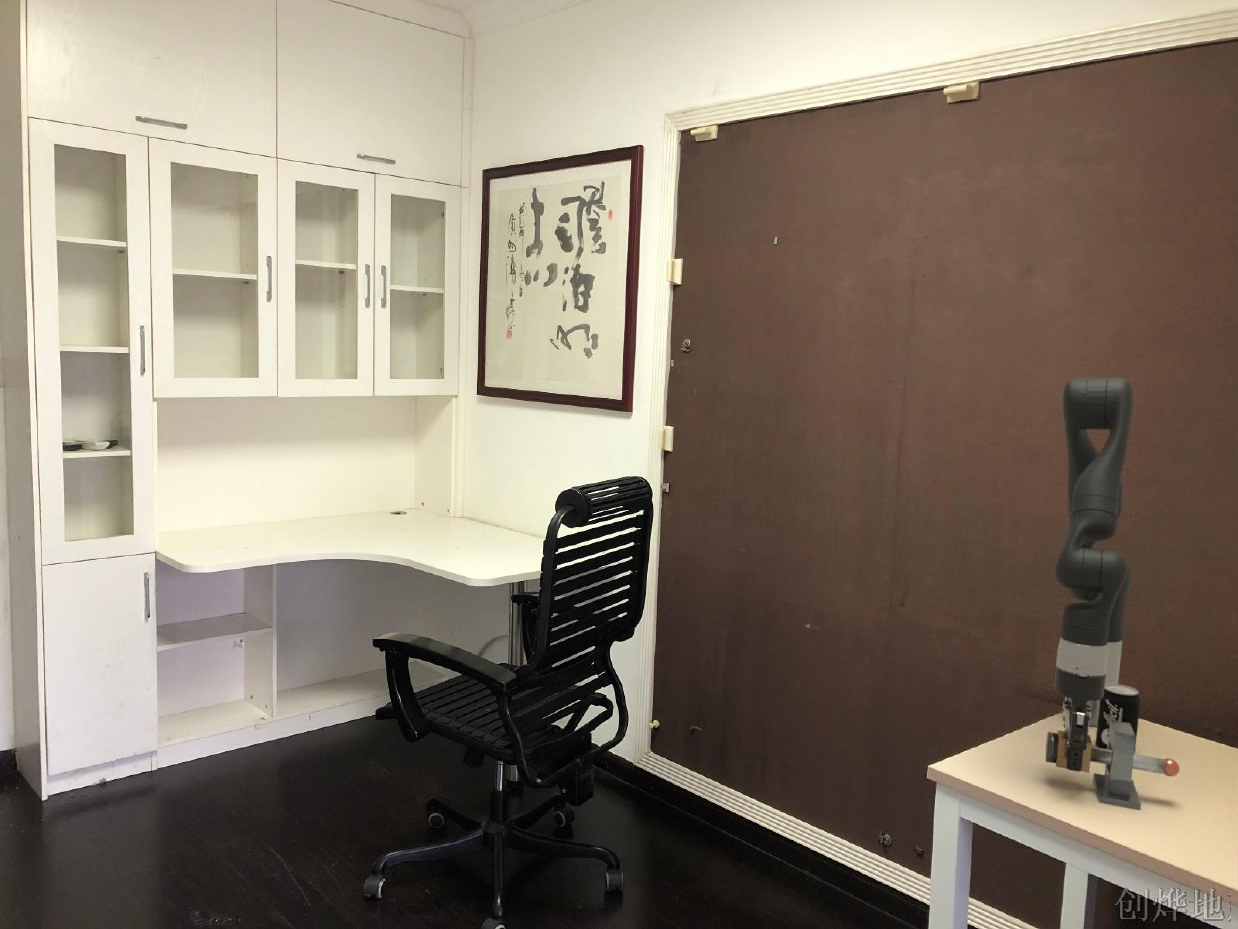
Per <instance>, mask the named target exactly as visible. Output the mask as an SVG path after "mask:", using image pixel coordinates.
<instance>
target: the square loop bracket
mask: <svg viewBox="0 0 1238 929" xmlns="http://www.w3.org/2000/svg"><path fill="white" fill-rule="evenodd" d="M1135 740H1136V741H1137V738H1136V737H1135V734H1134V732H1133V729H1132V727H1131V724H1130V723H1125V722H1119V721H1112V720H1110V727H1109V737H1108V746H1107V749H1108V750H1112V757H1111V765H1108V764H1105V767H1104V774H1100V773H1094V772H1093V777H1092V779H1093V780H1092V781H1093V785H1094V788H1095V792H1096V796H1097V799H1098V803H1102V804H1107V805H1112V806H1118V807H1122V808H1129V809H1135V810H1139V811H1140V810H1141V806H1142V802H1141V800H1140V797H1139V794H1138V791H1137V787H1136V785H1135V782H1134V780H1133V779H1132V777H1133V770H1134V769H1133V759H1134V754H1135V753H1134V750H1135V751H1136V747H1135Z"/></svg>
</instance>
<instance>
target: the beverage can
mask: <svg viewBox="0 0 1238 929" xmlns="http://www.w3.org/2000/svg"><path fill="white" fill-rule="evenodd" d="M1140 708H1141V698H1140V696H1139V690H1137V688H1134V687H1133V686H1129V685H1124V684H1119V683H1118V684H1105V687H1104V696H1103V698H1102V699H1100V703H1099V713H1098V722H1097V726H1096V734H1095V746H1096V748H1102V749H1107V746H1108V737H1109V727H1110V720H1112V721H1119V722H1125V723H1130V724H1131V727H1132V729H1133V732H1134V734H1135V737H1136V740H1135V748H1136V746H1137V736H1138V727H1139V719H1140V718H1139V716H1140ZM1135 752H1136V749H1135V750H1134V754H1136V753H1135Z"/></svg>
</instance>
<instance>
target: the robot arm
mask: <svg viewBox="0 0 1238 929" xmlns="http://www.w3.org/2000/svg"><path fill="white" fill-rule="evenodd" d="M1062 395H1063V396H1062V411H1063V422H1064V429H1065V432H1064V433H1065V438H1066V439H1065V440H1066V447H1067V450H1066V451H1067V507H1068V508H1067V509H1068V518H1069V521H1068V522H1069V528H1068V532H1067V535H1066V538H1065V541H1064V544H1063V545H1062V548H1061V550H1060V552H1059V554H1058V557H1057V560H1056V562H1055V566H1054V575H1055V578H1056V580H1057V582H1058V583H1059V584H1060V585H1061V586H1062V587H1063V588H1066V589H1069V593H1070V595H1071V596H1072V597H1073V598H1074V599H1076V600H1080V601H1081V602H1071V603H1069V604H1066V605H1065V606H1064V608H1063V612H1062V618H1061V628H1060V638H1059V639H1060V640H1059V644H1058V648H1057V653H1056V664H1055V673H1054V674H1055V675H1054V684H1053V689H1054V691H1055V692H1056V693H1057V694H1059V695H1060V696H1063V697H1064V698H1065V699H1064V700H1063V704H1062V721H1063V722H1064V723H1063V725H1062V726H1063V729H1064V731H1065V733H1066V734H1068V742H1067V745H1068V754H1067V764H1066V766H1067V769H1066V770H1068V771H1073V772H1077V773H1078V772H1082V771H1081V769H1082V759H1083V750H1086V748H1087V736H1088V735H1089V732H1090V726H1093V727H1097V722H1098V713H1099V703H1100V699H1102V698H1103V696H1104V687H1105V684H1119V678H1120V668H1121V667H1120V666H1121V657H1122V649H1123V648H1122V646H1123V637H1124V628H1125V627H1124V626H1125V618H1126V611H1127V610H1126V609H1127V603H1128V602H1127V601H1128V596H1129V592H1130V591H1129V590H1130V584H1131V574H1132V572H1131V566H1130V564H1129V563H1128V561H1126V558H1125V557H1124V556H1123V554H1121V553H1120V552H1118V551H1115V550H1109V549H1099V548H1098V549H1097V548H1093V546H1094V545H1095V543H1097V542H1101V541H1106V540H1110V539H1111V538H1113V537H1114V536H1116V535H1115V534H1116V533H1117V530H1118V529H1117V527H1118V520H1119V518H1120V516H1121V514H1122V512H1123V511H1122V510H1123V483H1122V479H1121V478H1122V474H1123V470H1124V464H1125V459H1126V455H1127V451H1128V450H1127V449H1128V444H1129V438H1130V432H1131V426H1132V420H1133V412H1134V392H1133V385H1132V383H1131V382H1130V380H1129V379H1128V378H1125V377H1114V376H1113V377H1111V376H1110V377H1076V378H1071V379H1070V380H1068V381H1067V383H1066V384H1065V385H1064V389H1063V394H1062ZM1088 430H1107V431H1108V430H1109V435H1108V438H1107V439H1106V441H1105V444H1104V446H1103V447H1102V449H1101V450H1100V451H1099V450H1098V449H1097V448H1096V446H1095V445H1094V443H1093V442H1092V440H1091V438H1090V435H1089V433H1088ZM1083 601H1084V602H1083ZM1074 735H1076V736H1080V737H1081V742H1080V741H1074V740H1073V739H1074Z"/></svg>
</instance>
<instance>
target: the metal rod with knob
mask: <svg viewBox="0 0 1238 929" xmlns="http://www.w3.org/2000/svg"><path fill="white" fill-rule="evenodd" d="M1073 740H1074V741H1080V742H1081V737H1080V736H1076V735H1074V739H1073ZM1067 742H1068V734H1066V733H1065V730H1057V731H1056V732H1053V731H1047V734H1046V742H1045V743H1046V744H1045V762H1046V763H1050V764H1055V768H1060V769H1066V770H1068V769H1067V766H1066V764H1067V754H1068V745H1067ZM1111 757H1112V750H1108V749H1102V748H1098V747H1097V746H1096V747H1095V746H1093V742H1092V739H1091V736H1090V735H1089V734H1088V736H1087V748H1086V750H1083V759H1082V769H1081V771H1080V772H1083V773H1088V774H1089V773H1090V768H1091V767H1090V766H1091V762H1092V763H1095V764H1096V763H1097V764H1101V765H1102V764H1103V765H1106V764H1108V765H1111ZM1132 770H1139V771H1143V772H1149V773H1156V774H1161V775H1164V776H1167V777H1171V778H1172V777H1174V776H1175V777H1176V776H1177V775H1178V774H1179V773H1180V765H1179V764H1178V762H1177V761H1176V760H1174V759H1172V758H1159V757H1154V756H1150V755H1149V756H1148V755H1144V754H1138V753H1137V754H1136V753H1134V759H1133V769H1132Z"/></svg>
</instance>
